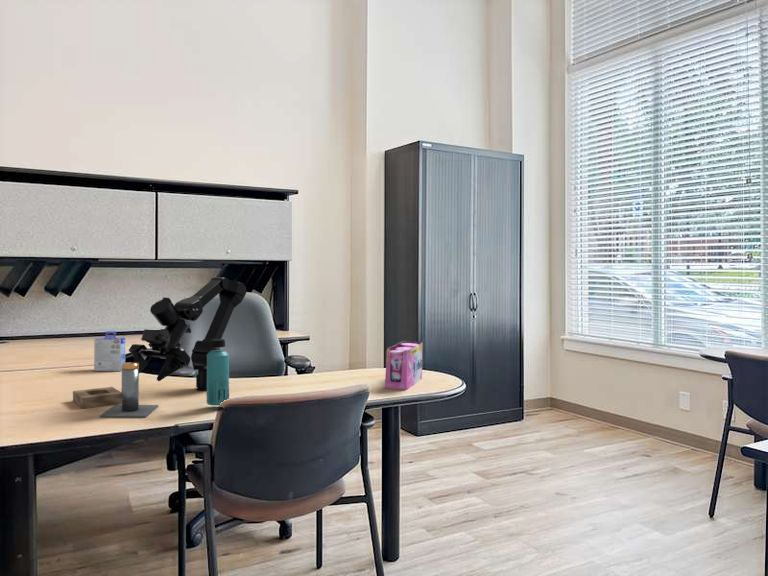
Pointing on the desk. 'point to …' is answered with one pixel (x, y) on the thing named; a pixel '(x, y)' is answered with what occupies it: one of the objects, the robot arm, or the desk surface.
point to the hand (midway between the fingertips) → (145, 378)
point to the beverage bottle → (217, 374)
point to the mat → (118, 413)
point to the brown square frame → (97, 397)
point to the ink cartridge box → (109, 352)
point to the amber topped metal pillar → (130, 386)
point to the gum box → (403, 365)
